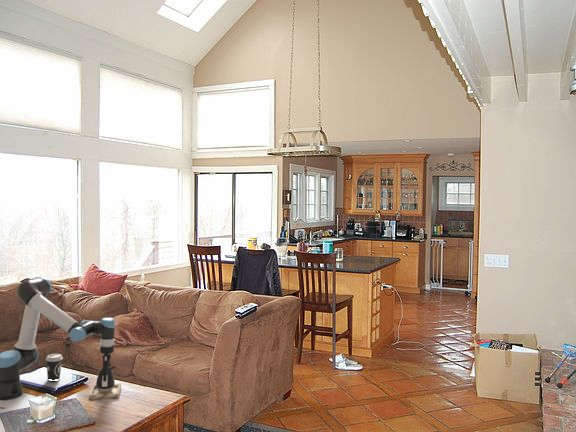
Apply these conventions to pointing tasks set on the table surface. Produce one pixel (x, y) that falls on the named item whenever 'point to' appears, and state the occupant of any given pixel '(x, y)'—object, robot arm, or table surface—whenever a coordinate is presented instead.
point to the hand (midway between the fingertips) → (105, 382)
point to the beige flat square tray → (111, 395)
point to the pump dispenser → (109, 381)
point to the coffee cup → (54, 366)
